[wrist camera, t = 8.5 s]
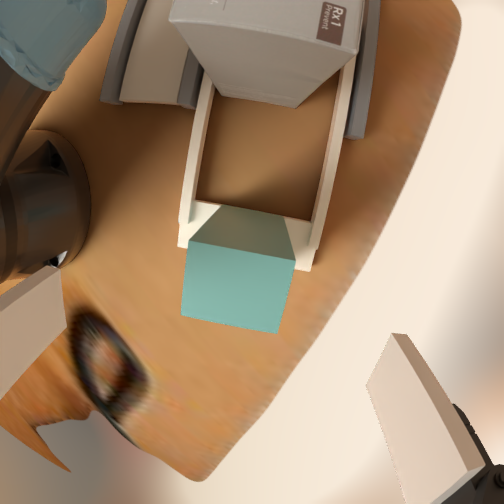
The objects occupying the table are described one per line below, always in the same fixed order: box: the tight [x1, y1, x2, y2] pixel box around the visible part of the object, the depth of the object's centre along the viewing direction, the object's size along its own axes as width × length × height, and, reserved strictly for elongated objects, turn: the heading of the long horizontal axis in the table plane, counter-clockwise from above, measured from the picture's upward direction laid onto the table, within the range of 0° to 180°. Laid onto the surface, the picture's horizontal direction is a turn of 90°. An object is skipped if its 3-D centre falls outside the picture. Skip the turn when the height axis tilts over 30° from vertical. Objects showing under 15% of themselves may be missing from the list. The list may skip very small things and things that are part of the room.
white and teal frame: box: [177, 56, 356, 334], centre depth 17 cm, size 11×22×11 cm, turn 170°
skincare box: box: [168, 0, 365, 108], centre depth 13 cm, size 8×7×16 cm
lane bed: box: [99, 0, 381, 140], centre depth 18 cm, size 21×20×2 cm
